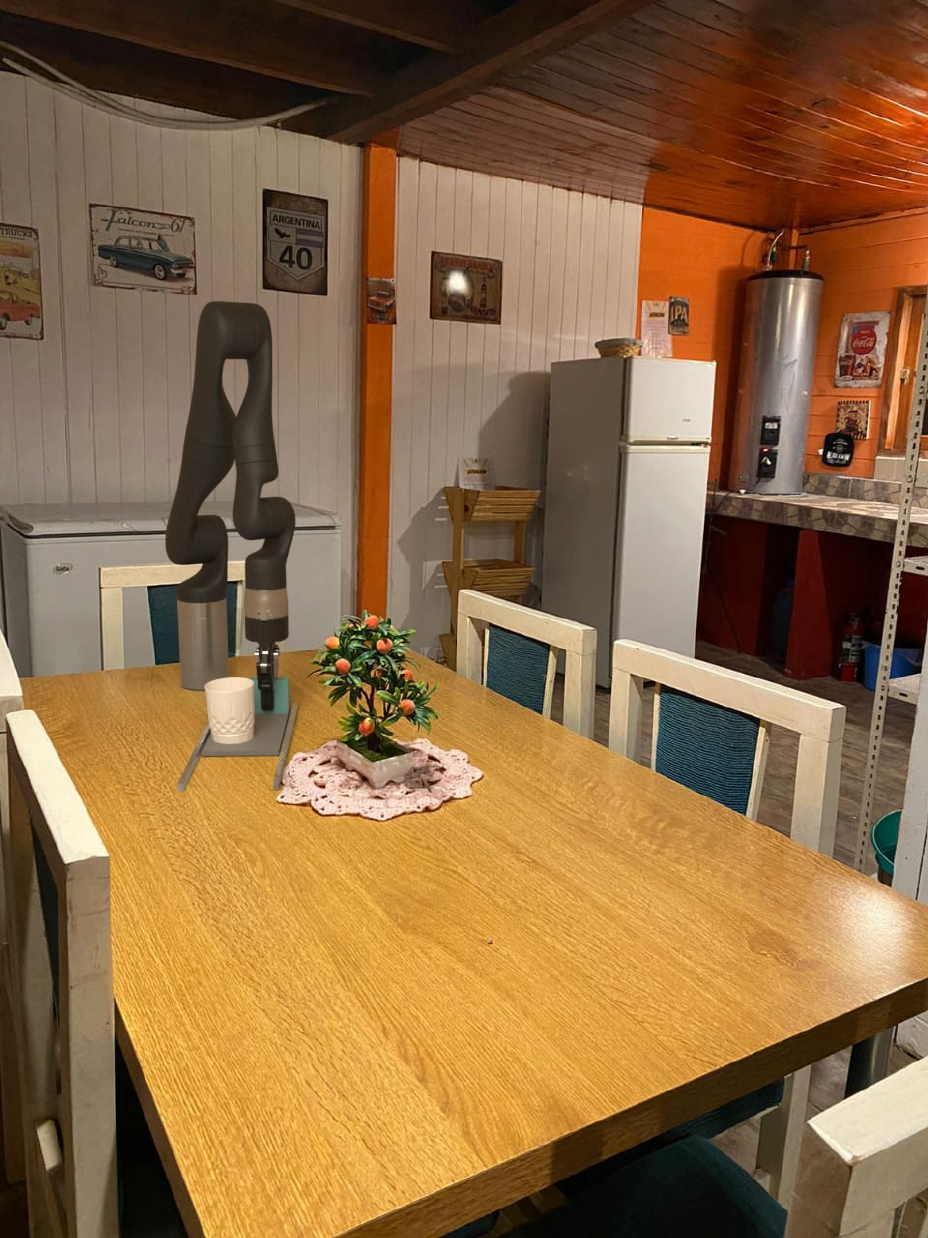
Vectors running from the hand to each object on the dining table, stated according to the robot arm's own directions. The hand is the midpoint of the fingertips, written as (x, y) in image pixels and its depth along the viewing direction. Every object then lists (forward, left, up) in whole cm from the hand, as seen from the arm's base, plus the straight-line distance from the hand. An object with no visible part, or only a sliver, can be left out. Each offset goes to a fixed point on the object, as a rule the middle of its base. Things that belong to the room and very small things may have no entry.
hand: (268, 706), depth 174 cm
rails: (+15, -2, -2) cm, 15 cm away
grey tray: (+9, -2, -2) cm, 9 cm away
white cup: (+13, -4, -2) cm, 14 cm away
